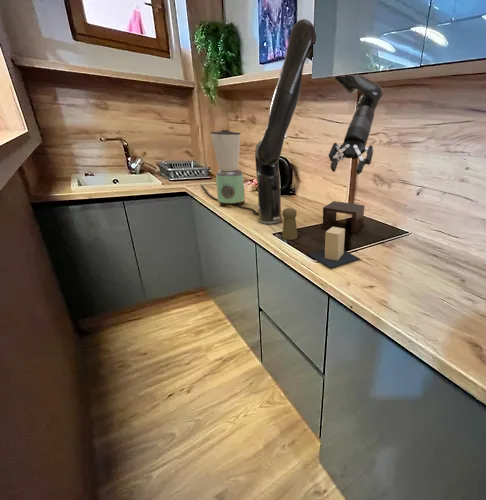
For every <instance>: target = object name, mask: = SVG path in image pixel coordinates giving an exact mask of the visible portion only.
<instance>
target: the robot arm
mask: <svg viewBox="0 0 486 500" xmlns="http://www.w3.org/2000/svg"><path fill="white" fill-rule="evenodd" d="M314 27H315V26H314V24H313V23H312V22H311V21H310V20H309V19H306V18H302V19H299V20H298V21H297V22H296V23H294V25H293V26H292V28H291V31H290V35H289V39H288V45H287V48H286V53H285V57H284V61H283V64H282V67H281V70H280V73H279V77H278V80H277V82H276V86H275V89H274V91H273V95H272V98H271V101H270V105H269V106H270V107H269V112H268V121H267V126H266V129H265V132H264V134H263V136H262V138H261V140H259V141H258V143H256V144H255V145H256V146H255V148H254V158H255V171H256V172H255V174H256V181H257V201H258V203H257V204H258V209H257V211H256V210H255V208H251V207H248V206H244V205H243V206H242V205H240V206H239V205H231V206H233V207H236V208H240V209H245V210H249V211H252V212H253V213H254V214H255V215H256V216H258V220H259V223H261V224H265V225H274V224H275V225H276V224H280V223H281V222H282V202H281V200H282V199H281V174H280V167H279V160H280V159H281V154H282V151H283V145H284V142H285V139H286V138H285V137H286V134H287V131H288V129H289V126H290V125H291V122H292V119H293V116H294V113H295V111H296V109H297V106H298V103H299V99H300V97H301V91H302V83H303V82H302V81H303V72H304V67H305V63H306V60H309V61H310V62H313V61H312V57H313V44H315V41H316V33H315V29H316V28H315V29H314ZM332 79H333V80H334V81H335V82H336V83H337V84H338V85H339V86H340V87H342V89H343V90H345V92H347V93H348V94H350V95H353V94H355V93H356V92H357V91H359V92H361V94H360V96H359V98H358V101H357V105H356V109H355V111H354V114H353V116H352V118H351V121H350V123H349V125H348V127H347V130H346V133H345V136H344V140H343V142H342V144H338V143H337V142H334V143H333V144H332V146H331V148H330V150H329V153H328V158H329V161H330V162H331V164H330V169H331V171H332V173H335V172H336V169H337V168H338V163H339V162H340V161H344V160H345V159H352V160H356V159H357V161H358V163H357V166H356V170H355V172H356V175H360V174H361V173H362V172H363V169H364V167H365V166H366V165H368V166H370V165H371V164H372V163H371V162H372V159H373V154H374V148H373V145H368V146H367V143H368V140H369V136H370V133H371V130H372V129H371V128H372V125H373V122H374V119H375V113H376V110H377V107H378V105H379V103H380V102H381V100H382V97H383V89H382V87H381V85H380V84H378V83H377V82H375V81H374V80H372V79H370V78H368V77H366V76H363V75H361V76H345V77H336V78H332ZM365 152H366V157H365V158H364V157H363V154H365ZM200 187H201V188H202V189H203V190H204V192H205V193H206V195H207V196H209V197H210V198H211V199H212V200H215V201H216V202H218V198H216V197H214V196H213V195H211V194H210V193H209V192H208V191H207V189H206V188H205V186H204V185H202V184H201V185H200Z"/></svg>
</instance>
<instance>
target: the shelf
mask: <svg viewBox="0 0 486 500" xmlns="http://www.w3.org/2000/svg"><path fill="white" fill-rule="evenodd" d="M337 213H338V214H346V215H351V224H350V225H351V227H350V234H353V235H355V234H356V233H357V232H359V230H360V229H361V228H362V227H363V226H364V215H365V205H364V204H357V203H350V202H344V201H335V200H333V201H332V202H330V203H327V204H326V205H324V206H323V207H322V230H323V229H324V230H328V228H330V227H332V225H333V224H335V223H336V222H337V215H338V214H337Z"/></svg>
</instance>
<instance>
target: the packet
mask: <svg viewBox="0 0 486 500" xmlns="http://www.w3.org/2000/svg"><path fill="white" fill-rule="evenodd" d="M324 234H325V236H324V237H325V238H324V250H325V258H326V259H331V260H336V261H338V260H339V258H340V257H341V256H342V255H343V254H344V251H345V237H346V236H345V234H346V228H343V227H337V226H330V227H329V229H327V230H326V231H325V233H324Z"/></svg>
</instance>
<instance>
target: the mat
mask: <svg viewBox="0 0 486 500" xmlns="http://www.w3.org/2000/svg"><path fill="white" fill-rule="evenodd" d="M307 255H308V256H309V257H310V258H312V259H314V260H315V261H317V262H319V263H320V264H322V265H323V266H325V267H327V268H329V269H330V270H332V269H335V268H338V267H341V266H344V265H347V264H350V263H354V262H357V261H360V258H359V257H358V256H356V255H354V254H352V253H350V252H348V251H346V250H344V254H343V255H342V256H341V257H340V258H339V260H338V261H336V260H331V259H326V258H325V249H322V250H318V251H315V252H311V253H308V254H307Z"/></svg>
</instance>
